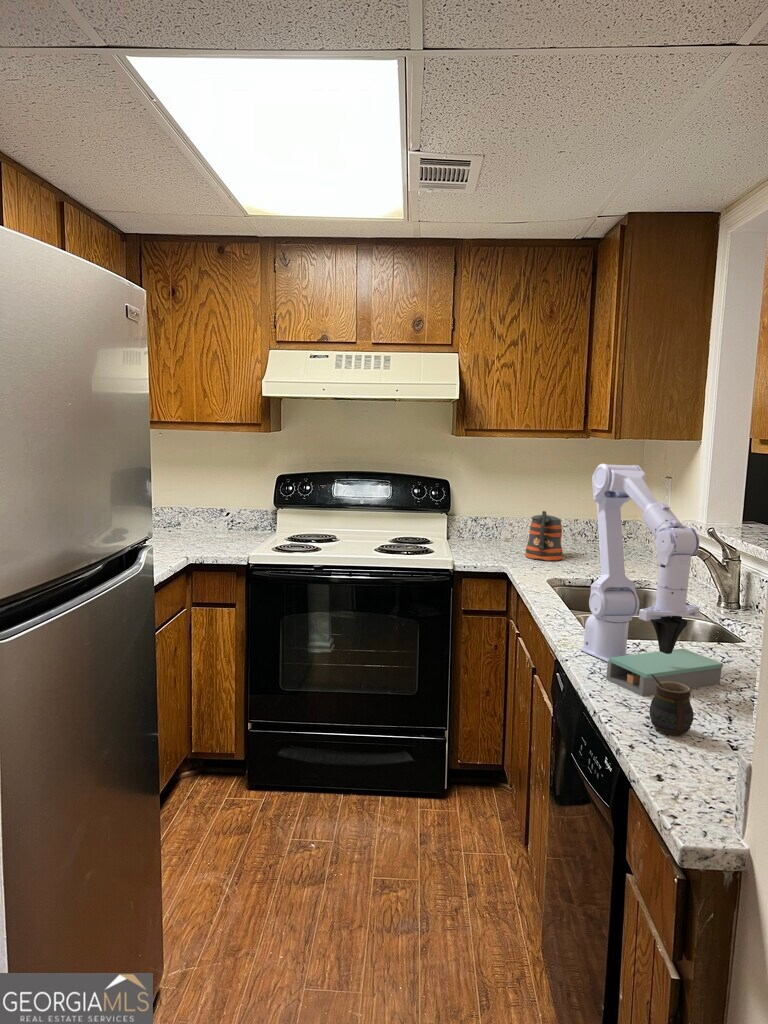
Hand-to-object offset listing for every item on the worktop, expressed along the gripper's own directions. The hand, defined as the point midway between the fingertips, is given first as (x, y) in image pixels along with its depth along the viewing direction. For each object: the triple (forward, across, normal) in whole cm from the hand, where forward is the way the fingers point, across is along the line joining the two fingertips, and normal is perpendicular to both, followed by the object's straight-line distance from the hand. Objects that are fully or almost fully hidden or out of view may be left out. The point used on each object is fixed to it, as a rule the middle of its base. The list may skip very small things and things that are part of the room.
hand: (665, 652), depth 149 cm
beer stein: (+8, +68, +126) cm, 143 cm away
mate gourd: (+8, -16, -17) cm, 24 cm away
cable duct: (+7, +3, +2) cm, 8 cm away
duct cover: (+4, +3, +2) cm, 5 cm away
